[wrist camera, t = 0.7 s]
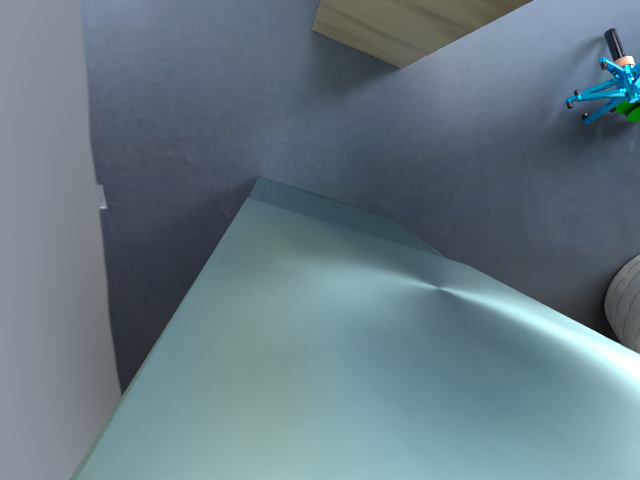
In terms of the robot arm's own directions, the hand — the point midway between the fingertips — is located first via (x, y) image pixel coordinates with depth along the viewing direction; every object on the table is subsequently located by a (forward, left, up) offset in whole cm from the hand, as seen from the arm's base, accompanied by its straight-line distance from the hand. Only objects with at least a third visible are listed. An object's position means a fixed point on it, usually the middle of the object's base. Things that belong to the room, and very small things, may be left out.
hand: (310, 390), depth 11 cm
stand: (-20, +1, -21) cm, 29 cm away
